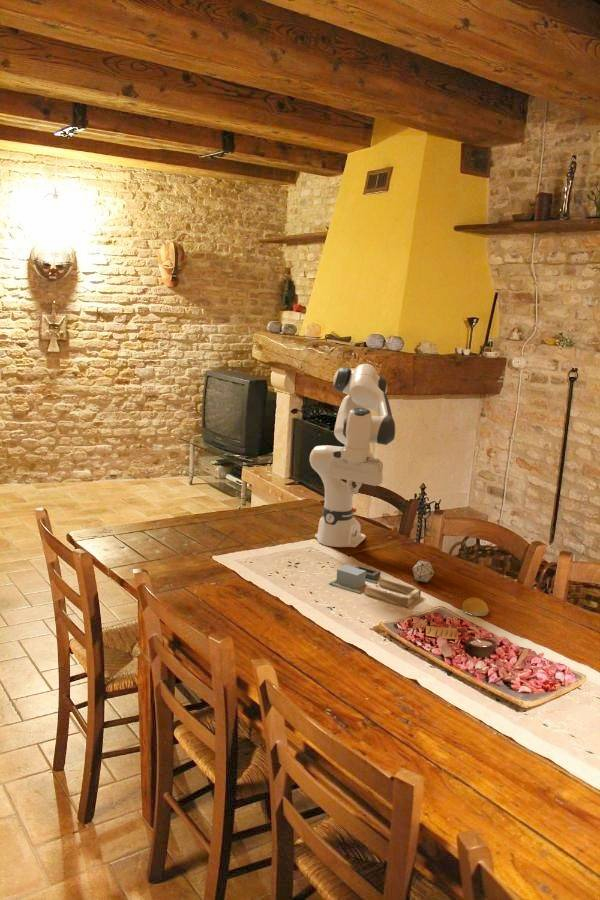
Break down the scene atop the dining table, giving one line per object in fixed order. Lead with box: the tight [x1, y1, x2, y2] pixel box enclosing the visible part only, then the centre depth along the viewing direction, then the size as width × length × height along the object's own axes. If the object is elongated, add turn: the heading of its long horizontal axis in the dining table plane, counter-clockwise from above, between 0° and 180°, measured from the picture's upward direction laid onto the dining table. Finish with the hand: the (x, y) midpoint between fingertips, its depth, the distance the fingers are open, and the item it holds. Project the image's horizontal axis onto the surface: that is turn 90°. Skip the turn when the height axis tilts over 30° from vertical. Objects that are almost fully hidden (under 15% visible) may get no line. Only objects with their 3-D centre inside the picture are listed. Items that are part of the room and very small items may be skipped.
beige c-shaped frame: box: [364, 577, 422, 608], centre depth 245 cm, size 11×15×2 cm
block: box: [335, 564, 366, 590], centre depth 253 cm, size 6×8×5 cm
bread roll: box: [461, 597, 490, 617], centre depth 237 cm, size 8×9×4 cm
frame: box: [328, 578, 379, 594], centre depth 253 cm, size 13×12×1 cm
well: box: [354, 564, 381, 581], centre depth 261 cm, size 5×9×2 cm, turn 57°
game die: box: [409, 557, 437, 585], centre depth 258 cm, size 9×8×10 cm
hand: (353, 493), depth 258 cm, fingers closed
